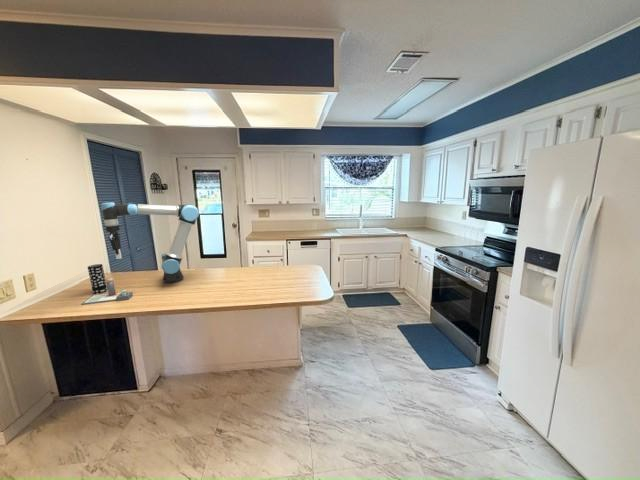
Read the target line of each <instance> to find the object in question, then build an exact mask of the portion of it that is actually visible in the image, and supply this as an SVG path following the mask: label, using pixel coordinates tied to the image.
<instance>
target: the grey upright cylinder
mask: <svg viewBox="0 0 640 480" xmlns="http://www.w3.org/2000/svg"><path fill="white" fill-rule="evenodd" d="M105 280H106V285H107V293H108V294H109V296H113V295H116V292H117V291H116V288H115V284H114V283H115V282H114V277H106V278H105Z"/></svg>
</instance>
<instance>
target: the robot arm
mask: <svg viewBox="0 0 640 480" xmlns="http://www.w3.org/2000/svg"><path fill="white" fill-rule="evenodd" d="M100 207H101V213H102V217H103V223H104V226H105V231H106V232H107V233H108V232H109V236H108V239H109V242H110V246H111V249H112V250H113V251H114V254H115V259H116V260H119V259H123V257H122V253H121V249H122V246H121V245H122V244H121V233H119V232H120V230H121V228H120V225H119V224H120V222H119V219H118V217H122V216H125V217H126V216H135V215H151V216H153V215H156V216H159V215H160V216H176V217H178V219H177V220H178V221H179V223H178V226H177V229H176V232H175V235H174V237H173V240H172V242H171V245H170V248H169V251H168V252H165V253H162V254H161V259H162V260H161V261H162V262H161V270H162V271H163V276H162V283H164V284H172V283H177V282H180V281H183V280H184V279H185V277H184V276H185V275H184V274H183V272H182V270H181V263H182V261H183V255H182V254H183V252H184V251H183V250H184V248H185V246H186V243H187V240H188V237H189V235H190V232H191V228H192V227H193V226H195V224H196V222H197V219H198V218H199V216H200V212H199V209H198V208H197V207H196V206H195V205H194V204H188V203H187V204H177V205H169V204H168V205H165V204H163V205H162V204H146V203H145V204H144V203H143V204H142V203H132V202H127V203H125V204H116V203H115V202H111V201H110V202H102V203H100ZM183 278H184V279H183ZM182 279H183V280H182Z"/></svg>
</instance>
